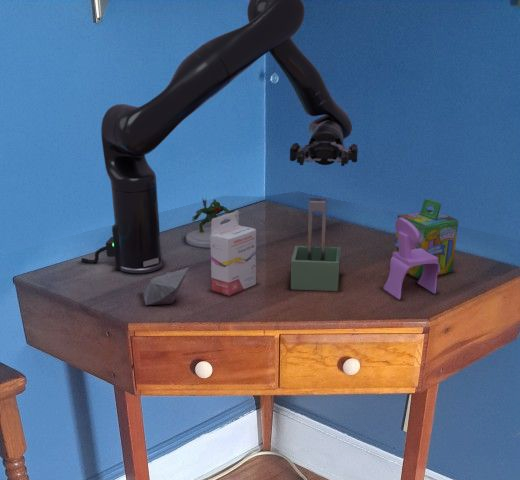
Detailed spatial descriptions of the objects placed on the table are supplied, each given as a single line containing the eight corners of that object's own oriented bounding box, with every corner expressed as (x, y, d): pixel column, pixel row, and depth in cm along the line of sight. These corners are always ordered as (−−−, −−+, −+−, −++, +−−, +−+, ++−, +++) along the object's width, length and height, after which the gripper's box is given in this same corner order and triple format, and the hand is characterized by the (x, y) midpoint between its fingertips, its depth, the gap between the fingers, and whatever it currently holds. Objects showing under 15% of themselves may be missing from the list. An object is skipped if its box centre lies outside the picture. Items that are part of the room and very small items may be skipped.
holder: (290, 289, 162) (291, 260, 159) (294, 273, 170) (295, 245, 168) (337, 291, 161) (338, 262, 158) (339, 274, 169) (340, 247, 167)
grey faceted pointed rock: (124, 301, 154) (134, 273, 160) (146, 324, 157) (154, 295, 164) (173, 275, 149) (181, 246, 155) (195, 298, 152) (201, 270, 159)
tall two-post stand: (304, 284, 164) (305, 202, 156) (305, 278, 168) (307, 197, 160) (325, 285, 164) (328, 202, 156) (326, 279, 167) (329, 197, 159)
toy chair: (440, 295, 159) (448, 220, 152) (401, 301, 156) (407, 225, 149) (418, 280, 166) (424, 209, 159) (380, 286, 163) (385, 214, 156)
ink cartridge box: (229, 297, 159) (227, 223, 152) (211, 291, 162) (208, 219, 155) (257, 284, 165) (257, 213, 158) (239, 279, 167) (237, 209, 161)
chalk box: (391, 268, 172) (396, 199, 166) (423, 260, 177) (429, 193, 170) (421, 281, 166) (427, 210, 159) (454, 272, 170) (461, 203, 163)
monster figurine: (198, 250, 183) (196, 206, 179) (178, 236, 193) (175, 193, 188) (245, 242, 188) (245, 199, 184) (223, 228, 198) (222, 187, 193)
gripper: (294, 125, 179) (287, 141, 165) (359, 126, 178) (357, 142, 164) (294, 160, 183) (287, 178, 169) (357, 161, 181) (356, 179, 167)
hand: (322, 160), depth 166 cm, fingers open, 8 cm apart
